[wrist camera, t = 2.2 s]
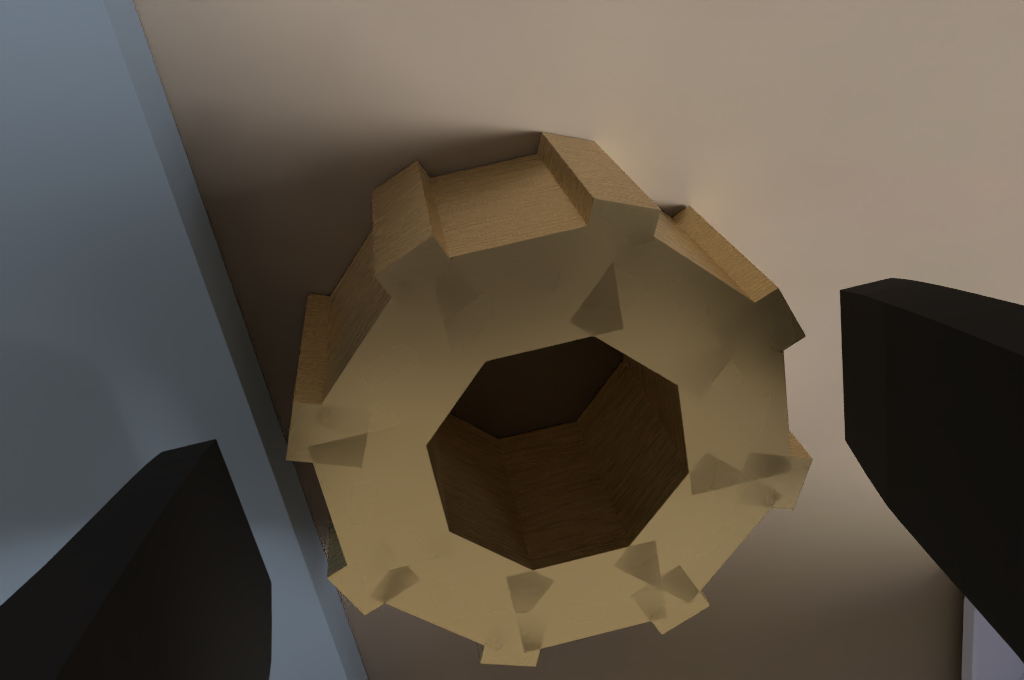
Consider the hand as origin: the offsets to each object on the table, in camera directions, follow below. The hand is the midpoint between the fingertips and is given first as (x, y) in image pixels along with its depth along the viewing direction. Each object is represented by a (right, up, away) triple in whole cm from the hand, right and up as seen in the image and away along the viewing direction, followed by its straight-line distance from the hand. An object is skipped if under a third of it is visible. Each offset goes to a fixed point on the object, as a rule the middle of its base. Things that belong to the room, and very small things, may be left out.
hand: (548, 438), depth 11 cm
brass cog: (0, +1, +2) cm, 3 cm away
